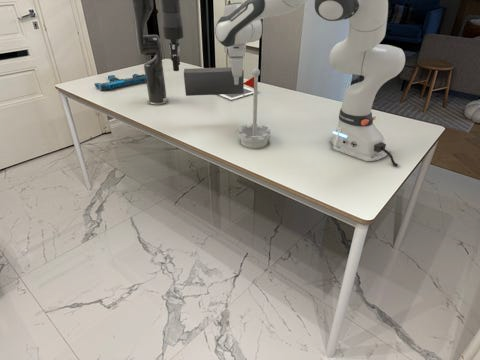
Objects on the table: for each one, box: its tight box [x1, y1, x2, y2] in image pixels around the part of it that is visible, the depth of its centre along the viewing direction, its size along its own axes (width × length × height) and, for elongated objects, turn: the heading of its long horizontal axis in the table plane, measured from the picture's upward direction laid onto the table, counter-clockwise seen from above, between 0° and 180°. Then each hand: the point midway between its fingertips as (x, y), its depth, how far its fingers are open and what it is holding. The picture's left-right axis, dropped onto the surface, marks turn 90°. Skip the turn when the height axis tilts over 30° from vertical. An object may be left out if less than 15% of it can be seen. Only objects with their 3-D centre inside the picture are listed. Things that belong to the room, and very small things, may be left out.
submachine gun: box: [94, 73, 146, 91], centre depth 208 cm, size 34×4×25 cm
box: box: [183, 66, 245, 97], centre depth 143 cm, size 24×6×10 cm, turn 95°
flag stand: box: [238, 67, 272, 149], centre depth 132 cm, size 13×13×30 cm
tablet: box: [218, 86, 259, 101], centre depth 197 cm, size 32×20×1 cm, turn 41°
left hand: (176, 67), depth 138 cm, fingers open, 8 cm apart
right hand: (235, 81), depth 144 cm, fingers closed on box, 6 cm apart
